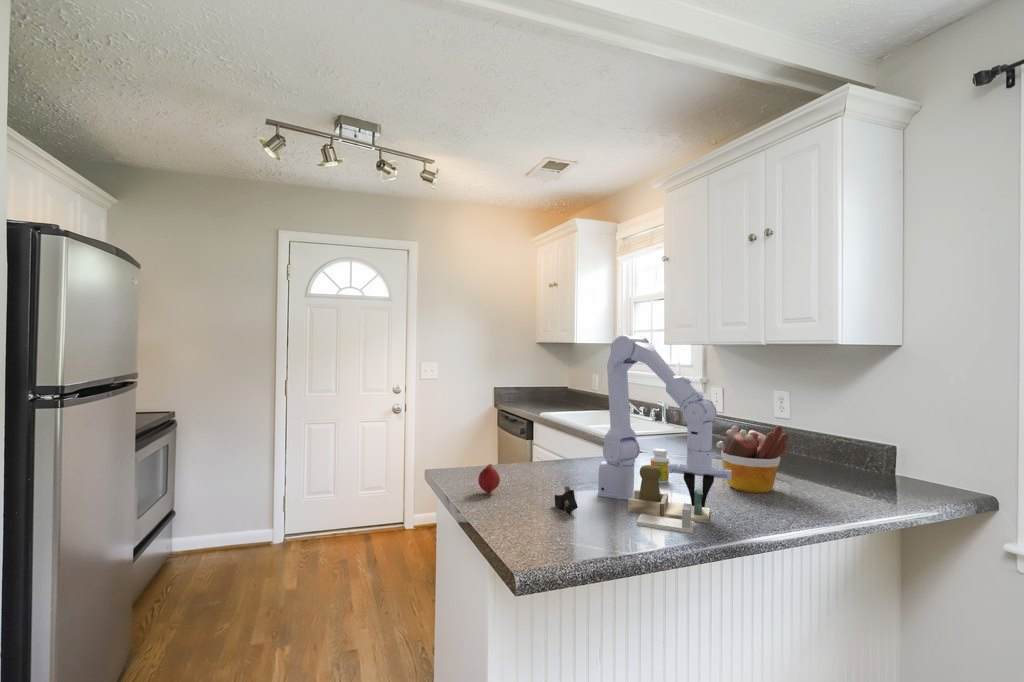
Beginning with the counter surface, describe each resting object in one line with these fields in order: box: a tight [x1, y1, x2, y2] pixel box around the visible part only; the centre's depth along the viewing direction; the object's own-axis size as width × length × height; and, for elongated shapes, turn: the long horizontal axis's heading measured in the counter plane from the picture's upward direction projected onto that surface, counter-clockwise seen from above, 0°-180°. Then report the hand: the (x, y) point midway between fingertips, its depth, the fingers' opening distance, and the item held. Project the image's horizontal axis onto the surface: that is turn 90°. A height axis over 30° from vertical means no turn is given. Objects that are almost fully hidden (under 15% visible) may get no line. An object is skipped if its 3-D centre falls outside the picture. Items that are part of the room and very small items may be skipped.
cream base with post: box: [636, 502, 695, 535], centre depth 116 cm, size 12×6×5 cm, turn 67°
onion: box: [478, 463, 501, 494], centre depth 138 cm, size 6×6×8 cm
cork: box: [639, 464, 661, 502], centre depth 128 cm, size 6×6×11 cm
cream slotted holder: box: [627, 488, 711, 524], centre depth 126 cm, size 18×10×6 cm, turn 67°
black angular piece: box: [554, 485, 579, 513], centre depth 125 cm, size 9×2×6 cm
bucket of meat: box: [715, 425, 789, 494], centre depth 151 cm, size 20×16×20 cm
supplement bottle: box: [650, 448, 670, 484], centre depth 157 cm, size 5×5×10 cm
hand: (698, 505), depth 123 cm, fingers closed on cream slotted holder, 2 cm apart
